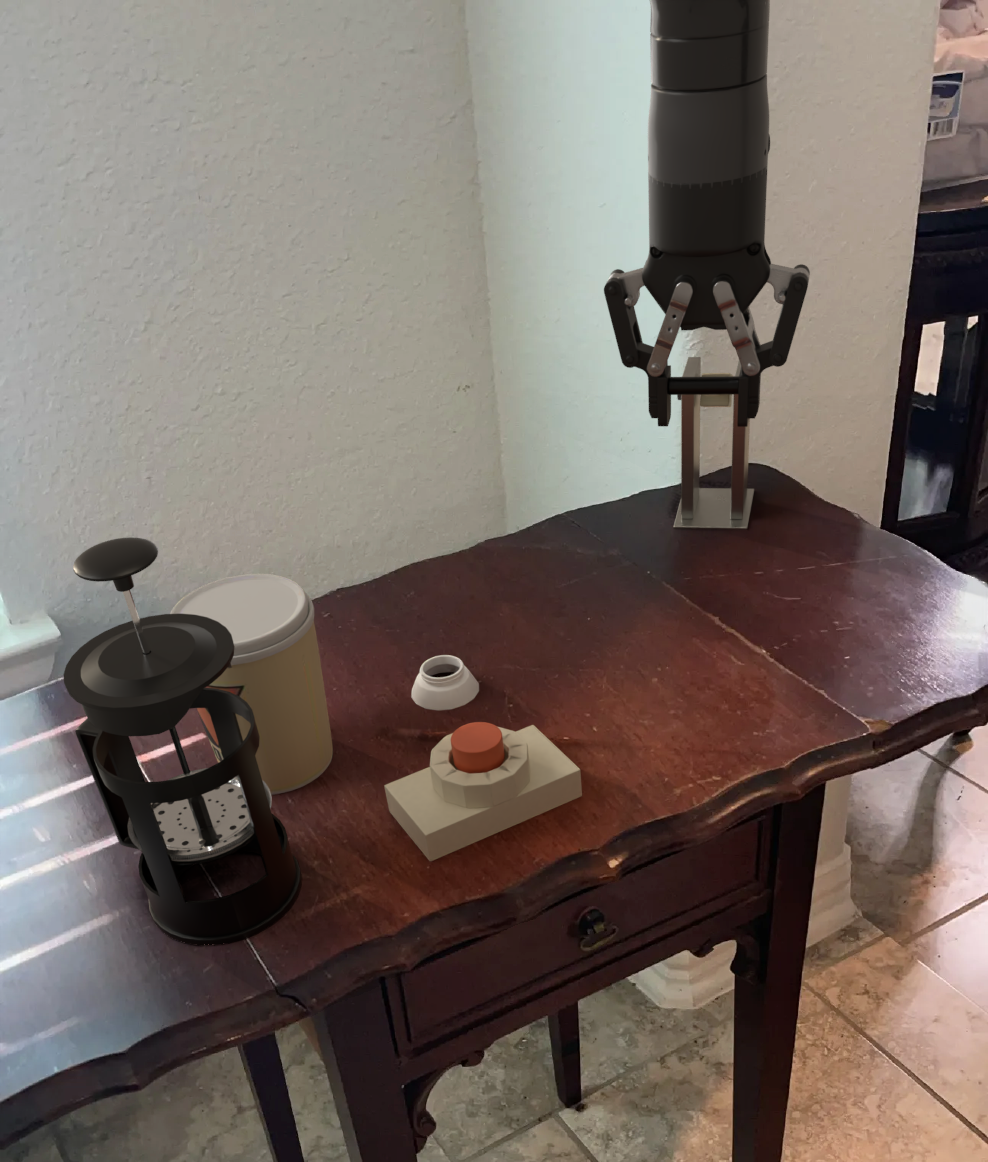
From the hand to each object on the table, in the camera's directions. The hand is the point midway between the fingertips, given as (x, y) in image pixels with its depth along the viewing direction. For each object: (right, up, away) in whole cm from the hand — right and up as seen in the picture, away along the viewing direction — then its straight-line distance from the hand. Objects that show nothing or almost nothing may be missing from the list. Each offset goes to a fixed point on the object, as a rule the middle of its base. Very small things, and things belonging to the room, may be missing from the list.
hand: (704, 421), depth 92 cm
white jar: (-19, -21, -1) cm, 28 cm away
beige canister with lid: (-30, -25, -4) cm, 39 cm away
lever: (+1, +2, +4) cm, 4 cm away
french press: (-32, -34, -14) cm, 49 cm away
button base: (-16, -28, -10) cm, 34 cm away
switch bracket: (+3, -3, +15) cm, 15 cm away
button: (-16, -26, -13) cm, 33 cm away
